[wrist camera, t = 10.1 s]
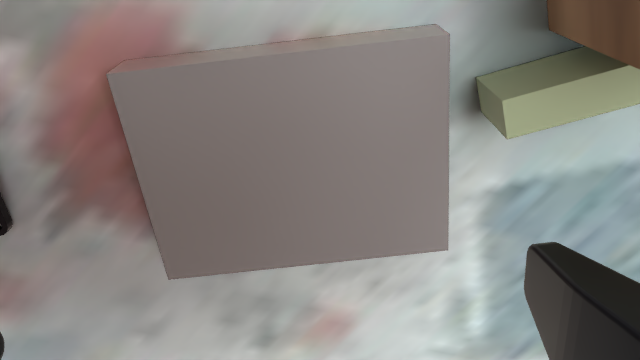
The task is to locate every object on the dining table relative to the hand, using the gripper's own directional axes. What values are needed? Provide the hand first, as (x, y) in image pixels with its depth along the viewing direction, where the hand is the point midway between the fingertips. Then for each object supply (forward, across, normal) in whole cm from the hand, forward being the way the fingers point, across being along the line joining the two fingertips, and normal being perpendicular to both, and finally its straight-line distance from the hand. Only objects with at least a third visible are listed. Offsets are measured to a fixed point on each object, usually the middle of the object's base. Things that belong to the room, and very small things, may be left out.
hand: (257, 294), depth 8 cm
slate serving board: (+13, 0, +3) cm, 13 cm away
